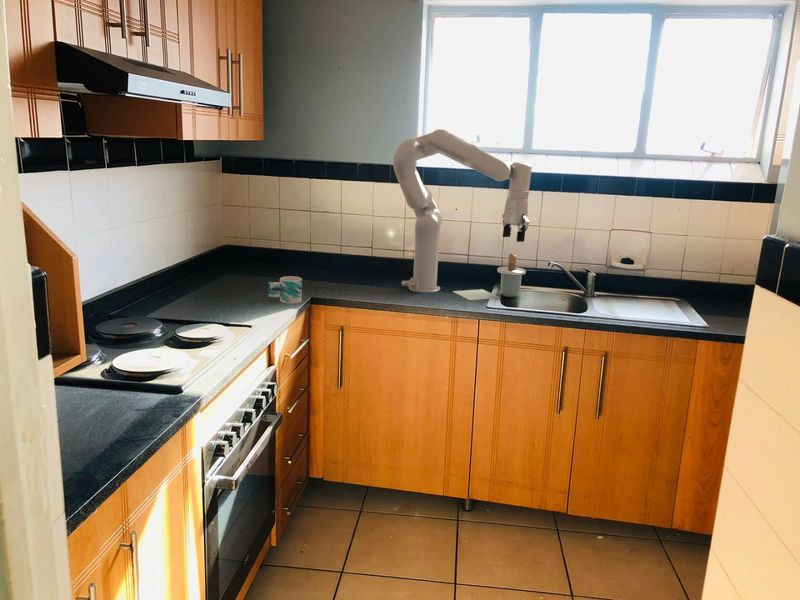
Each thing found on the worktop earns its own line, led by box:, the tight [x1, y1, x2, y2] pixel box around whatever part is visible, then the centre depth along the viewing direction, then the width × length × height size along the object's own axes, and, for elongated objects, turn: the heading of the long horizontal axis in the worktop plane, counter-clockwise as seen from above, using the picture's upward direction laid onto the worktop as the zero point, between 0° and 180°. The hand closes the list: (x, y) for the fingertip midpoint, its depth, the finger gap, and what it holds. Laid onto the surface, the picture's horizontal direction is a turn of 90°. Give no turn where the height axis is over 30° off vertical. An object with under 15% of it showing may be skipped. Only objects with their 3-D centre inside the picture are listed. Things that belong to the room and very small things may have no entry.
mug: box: [267, 275, 303, 305], centre depth 240 cm, size 8×12×8 cm
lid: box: [496, 253, 527, 276], centre depth 259 cm, size 11×11×7 cm
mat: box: [451, 288, 501, 301], centre depth 261 cm, size 14×14×1 cm
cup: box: [500, 273, 523, 298], centre depth 262 cm, size 8×8×10 cm
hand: (513, 239), depth 257 cm, fingers open, 9 cm apart
